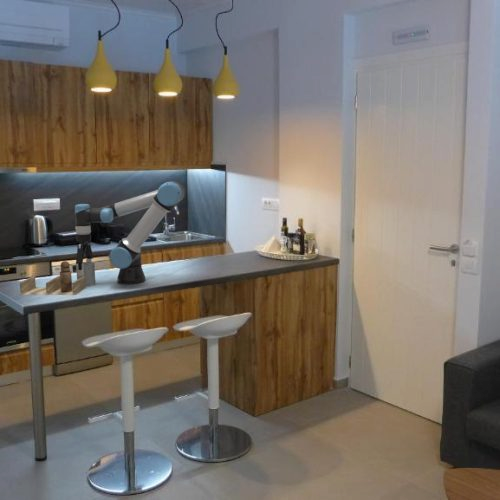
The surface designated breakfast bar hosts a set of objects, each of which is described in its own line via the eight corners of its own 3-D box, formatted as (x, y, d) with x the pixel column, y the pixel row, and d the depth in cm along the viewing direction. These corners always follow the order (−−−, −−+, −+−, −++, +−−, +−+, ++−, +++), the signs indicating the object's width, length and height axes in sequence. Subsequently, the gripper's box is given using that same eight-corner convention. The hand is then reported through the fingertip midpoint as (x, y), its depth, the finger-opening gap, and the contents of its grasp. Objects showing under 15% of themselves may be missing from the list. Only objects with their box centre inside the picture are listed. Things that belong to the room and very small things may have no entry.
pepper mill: (73, 289, 319) (72, 260, 316) (70, 292, 313) (68, 262, 311) (63, 289, 319) (61, 260, 316) (59, 292, 313) (57, 262, 311)
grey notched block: (73, 287, 328) (72, 265, 326) (84, 284, 337) (83, 261, 335) (88, 289, 325) (87, 266, 322) (99, 285, 333) (98, 262, 331)
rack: (85, 289, 324) (85, 276, 322) (75, 296, 308) (74, 283, 307) (33, 289, 325) (32, 276, 324) (20, 296, 310) (19, 282, 309)
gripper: (84, 230, 338) (86, 268, 342) (68, 236, 314) (70, 278, 317) (97, 230, 338) (99, 268, 341) (82, 236, 313) (84, 278, 317)
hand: (85, 273), depth 329 cm, fingers open, 13 cm apart
